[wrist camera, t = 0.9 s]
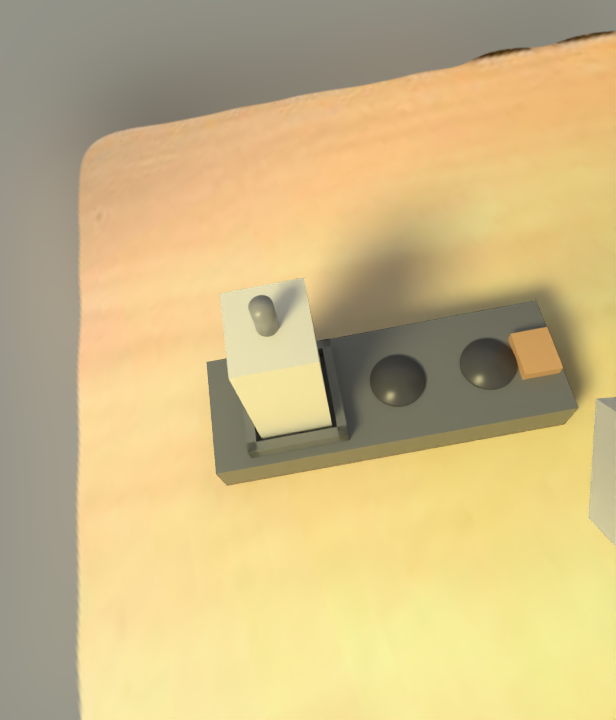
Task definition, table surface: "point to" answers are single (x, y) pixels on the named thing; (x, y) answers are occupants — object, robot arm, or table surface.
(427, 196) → the table surface
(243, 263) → the table surface
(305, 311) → the white block with knob
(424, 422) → the power strip
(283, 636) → the table surface
